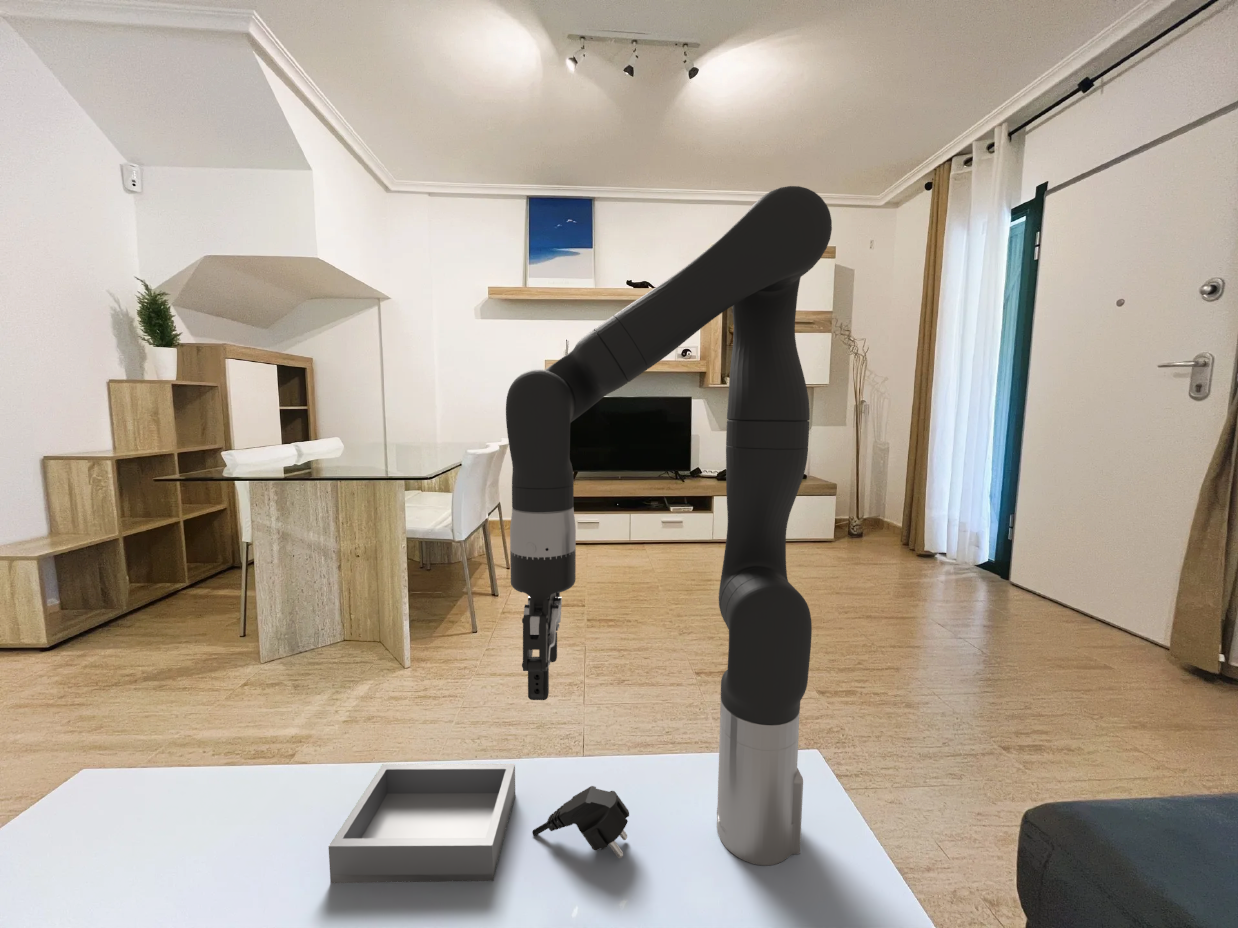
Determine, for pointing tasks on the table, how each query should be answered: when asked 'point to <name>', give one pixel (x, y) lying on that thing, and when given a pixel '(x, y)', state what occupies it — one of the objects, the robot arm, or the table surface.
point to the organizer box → (426, 825)
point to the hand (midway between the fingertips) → (543, 678)
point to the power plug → (592, 818)
